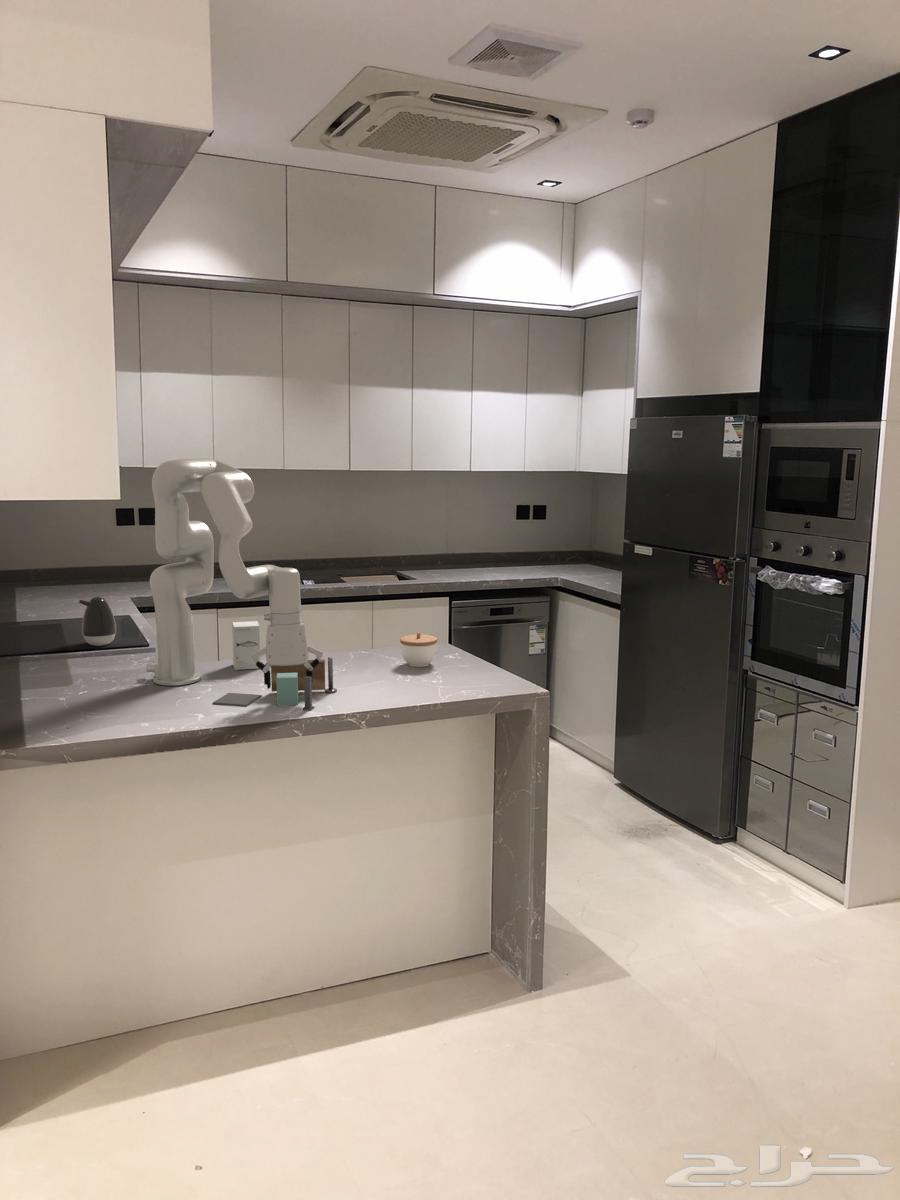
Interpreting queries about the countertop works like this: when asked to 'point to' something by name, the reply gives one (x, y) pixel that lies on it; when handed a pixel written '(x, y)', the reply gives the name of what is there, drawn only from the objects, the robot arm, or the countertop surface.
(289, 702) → the block
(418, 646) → the lidded jar
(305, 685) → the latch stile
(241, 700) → the mat
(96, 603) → the pump dispenser
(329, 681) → the gate post
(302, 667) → the gate
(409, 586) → the countertop surface
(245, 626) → the supplement box
